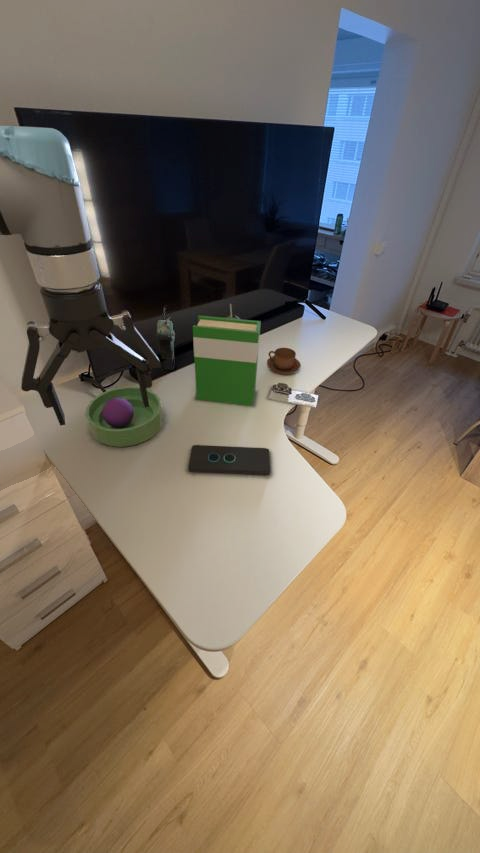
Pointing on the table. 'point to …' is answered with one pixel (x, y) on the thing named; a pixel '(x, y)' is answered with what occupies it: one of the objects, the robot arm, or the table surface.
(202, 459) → the smart home device
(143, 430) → the bowl
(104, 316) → the robot arm
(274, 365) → the cup and saucer
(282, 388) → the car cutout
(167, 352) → the ceramic cat
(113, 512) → the table surface
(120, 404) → the ball
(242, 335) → the hardback book
